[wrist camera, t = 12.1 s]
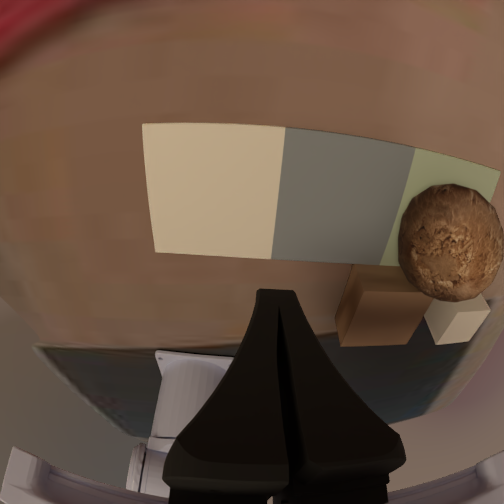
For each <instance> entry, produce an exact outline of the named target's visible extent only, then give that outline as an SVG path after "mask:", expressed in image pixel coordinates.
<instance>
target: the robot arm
mask: <svg viewBox="0 0 504 504" xmlns="http://www.w3.org/2000/svg"><path fill="white" fill-rule="evenodd" d="M155 356H156V359H157V363H158V366H159V369H160V372H161V375H162V382H161V387H160V392H159V396H158V401H157V406H156V411H155V416H154V421H153V427H152V432H151V437H149V442H148V447H147V448H146V444H143V443H140V444H139V445H137V446H136V447H134V449H133V452H132V457H131V461H130V466H129V471H128V477H127V484H126V489H123V488H119V487H115V486H112V485H108V484H105V483H101V482H98V481H95V480H91V479H88V478H85V477H82V476H79V475H76V474H73V473H71V472H68V471H65V470H63V469H60V468H57V467H55V466H52V465H50V464H49V463H48V462H47V461H45V460H43V459H41V458H40V457H38V456H35V455H33V454H31V453H29V452H26V451H24V450H22V449H20V448H18V447H16V446H14V447H13V448H12V452H11V455H10V459H9V462H8V466H7V469H6V473H5V477H4V481H3V486H2V489H1V494H0V500H1V501H3V502H4V503H6V504H267V500H268V499H269V498H270V497H271V496H273V504H504V450H503V451H501V452H499V453H497V454H494V455H492V456H490V457H488V458H486V459H484V460H483V461H480V462H479V463H477V464H476V465H475V466H472V467H470V468H467V469H465V470H462V471H460V472H457V473H454V474H451V475H448V476H446V477H442V478H439V479H437V480H433V481H430V482H427V483H423V484H420V485H416V486H412V487H409V488H405V489H401V490H397V491H393V492H388V493H387V486H386V484H388V483H389V481H390V480H389V473H390V472H392V471H394V470H396V469H397V468H399V467H401V466H402V465H403V464H404V463H405V461H406V455H405V450H404V446H403V443H402V441H401V438H400V435H399V434H398V433H397V432H395V431H394V430H393V429H392V428H390V427H389V426H388V425H387V424H386V423H385V422H384V421H383V420H381V419H380V418H379V417H378V416H377V415H376V414H375V413H374V412H373V411H372V410H371V409H370V408H369V407H368V406H367V405H366V404H365V403H364V402H363V401H362V399H361V398H360V397H359V396H358V395H357V394H356V393H355V392H354V391H353V389H352V388H351V387H350V386H349V385H348V383H347V382H346V381H345V380H344V378H343V377H342V376H341V374H340V373H339V372H338V370H337V369H336V368H335V366H334V365H333V363H332V362H331V360H330V359H329V357H328V356H327V354H326V353H325V351H324V349H323V348H322V346H321V345H320V343H319V341H318V339H317V338H316V336H315V334H314V332H313V330H312V328H311V327H310V325H309V323H308V321H307V319H306V317H305V315H304V312H303V310H302V308H301V306H300V303H299V301H298V299H297V296H296V293H295V292H294V291H293V290H276V289H259V290H257V293H256V303H255V307H254V311H253V314H252V317H251V320H250V323H249V326H248V328H247V331H246V334H245V336H244V338H243V340H242V342H241V345H240V347H239V349H238V351H237V353H236V355H235V357H224V356H211V355H199V354H189V353H179V352H170V351H162V350H158V351H156V353H155Z"/></svg>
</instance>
